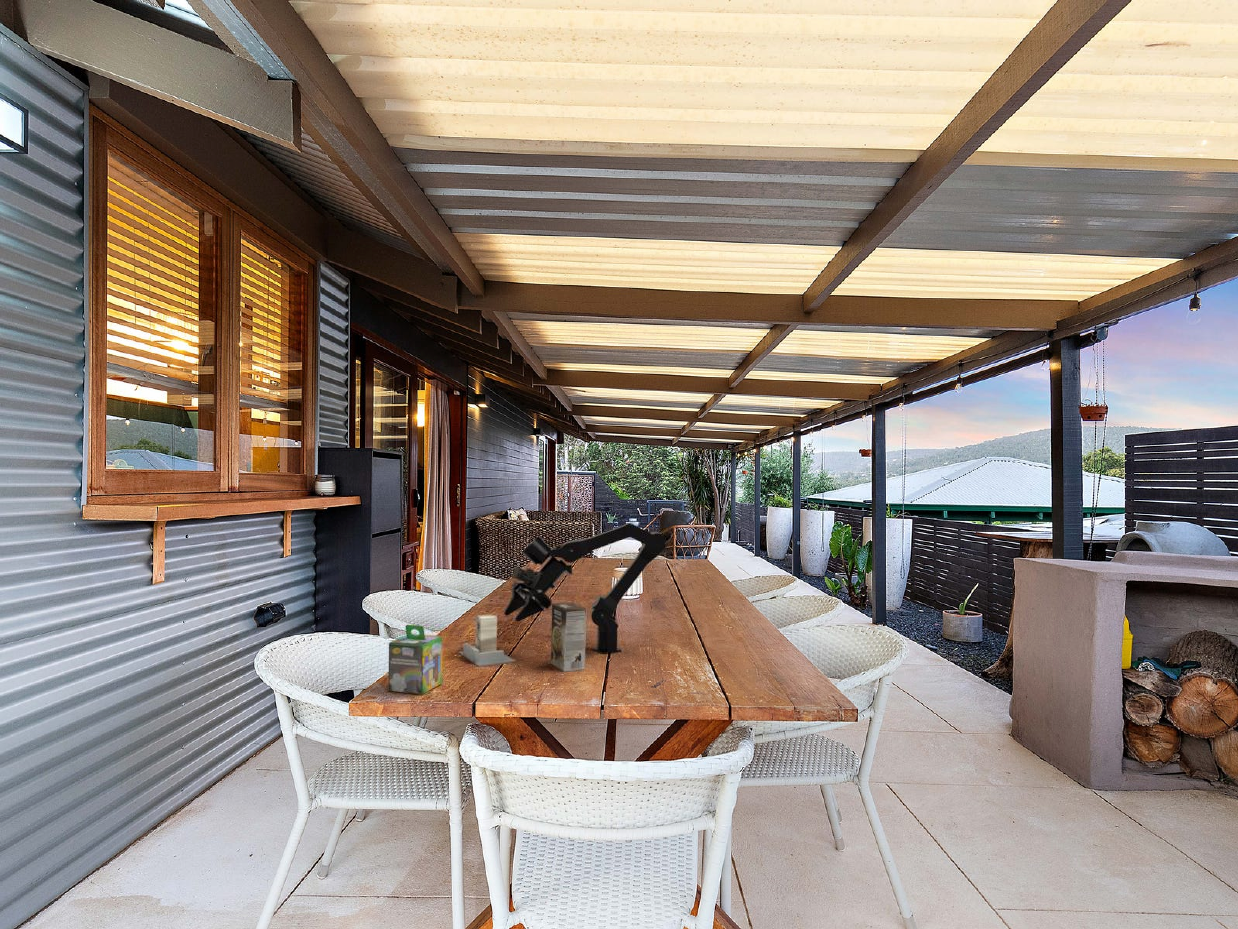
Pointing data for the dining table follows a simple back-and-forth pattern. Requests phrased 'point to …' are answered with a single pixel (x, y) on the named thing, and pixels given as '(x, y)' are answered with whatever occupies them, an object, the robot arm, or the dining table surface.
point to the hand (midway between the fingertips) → (510, 617)
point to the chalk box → (415, 662)
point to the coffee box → (568, 636)
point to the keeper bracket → (485, 656)
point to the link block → (486, 633)
